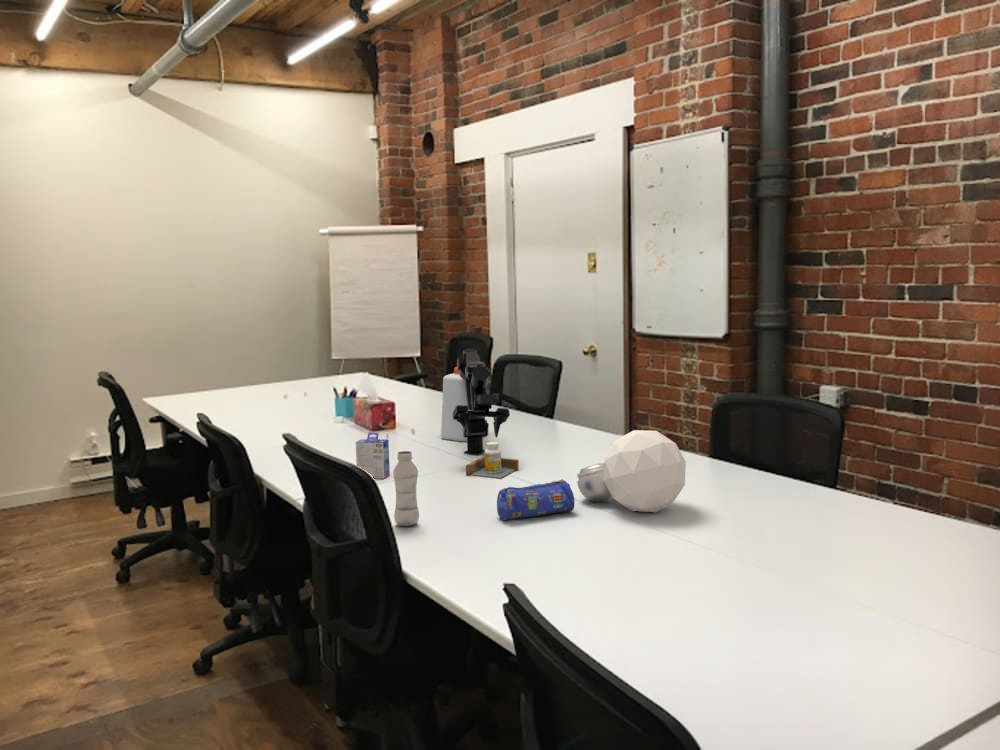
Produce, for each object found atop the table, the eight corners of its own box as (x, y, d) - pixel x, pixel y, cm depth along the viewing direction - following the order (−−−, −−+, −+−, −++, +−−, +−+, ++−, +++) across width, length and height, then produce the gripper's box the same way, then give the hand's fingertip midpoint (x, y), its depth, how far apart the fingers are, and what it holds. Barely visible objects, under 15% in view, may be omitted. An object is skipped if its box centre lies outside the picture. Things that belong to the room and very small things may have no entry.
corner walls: (483, 466, 290) (483, 456, 290) (518, 469, 285) (518, 459, 284) (466, 475, 279) (465, 465, 278) (501, 479, 273) (501, 468, 273)
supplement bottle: (486, 469, 284) (485, 440, 283) (502, 469, 283) (501, 441, 282) (483, 473, 279) (483, 444, 277) (499, 473, 278) (499, 444, 277)
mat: (485, 467, 288) (485, 466, 288) (515, 470, 284) (515, 469, 283) (470, 475, 278) (470, 474, 278) (501, 479, 274) (501, 477, 274)
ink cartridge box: (390, 474, 282) (389, 432, 280) (385, 479, 276) (383, 435, 274) (362, 473, 284) (360, 431, 282) (356, 478, 278) (354, 434, 276)
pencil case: (565, 506, 244) (565, 474, 242) (579, 514, 236) (578, 481, 234) (493, 516, 236) (492, 483, 234) (505, 525, 228) (504, 491, 226)
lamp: (671, 510, 219) (648, 421, 223) (569, 532, 240) (550, 450, 244) (711, 499, 236) (689, 417, 240) (612, 521, 257) (594, 445, 261)
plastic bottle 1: (394, 521, 232) (392, 450, 229) (419, 520, 233) (417, 449, 230) (394, 529, 226) (391, 456, 223) (419, 528, 226) (417, 455, 224)
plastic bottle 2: (490, 435, 338) (488, 365, 334) (468, 443, 326) (466, 370, 322) (459, 432, 346) (457, 363, 342) (436, 439, 334) (434, 368, 330)
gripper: (459, 381, 282) (463, 423, 274) (512, 385, 288) (517, 426, 280) (450, 398, 291) (454, 439, 283) (502, 401, 297) (506, 441, 289)
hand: (483, 436), depth 284 cm, fingers open, 9 cm apart
